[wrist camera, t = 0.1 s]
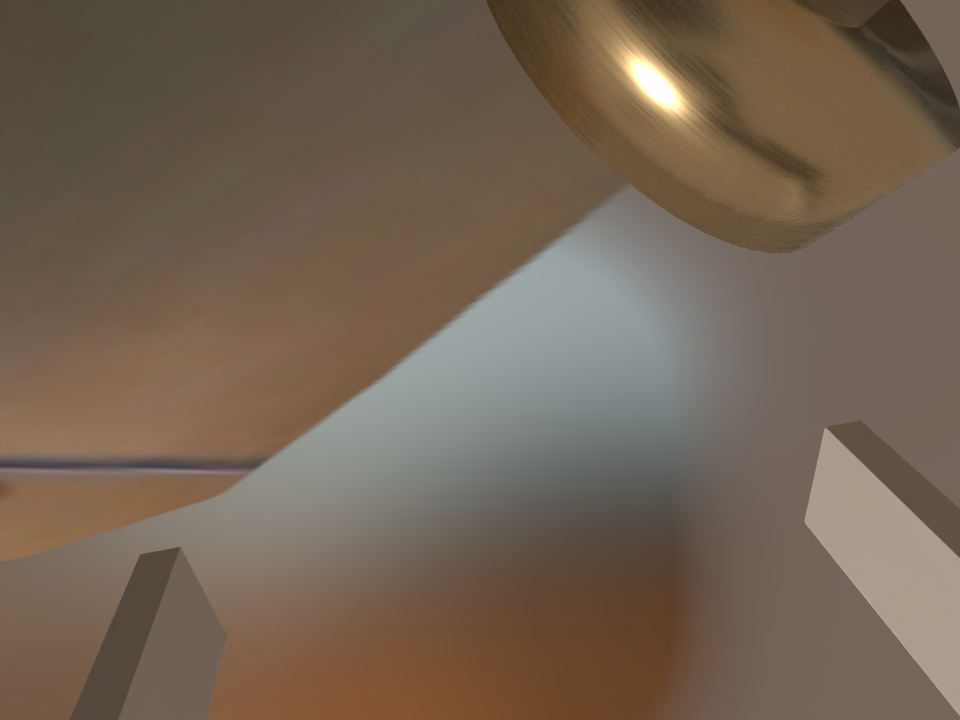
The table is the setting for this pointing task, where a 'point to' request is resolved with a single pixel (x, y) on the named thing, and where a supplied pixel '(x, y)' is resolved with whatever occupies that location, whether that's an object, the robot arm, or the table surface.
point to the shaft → (744, 104)
